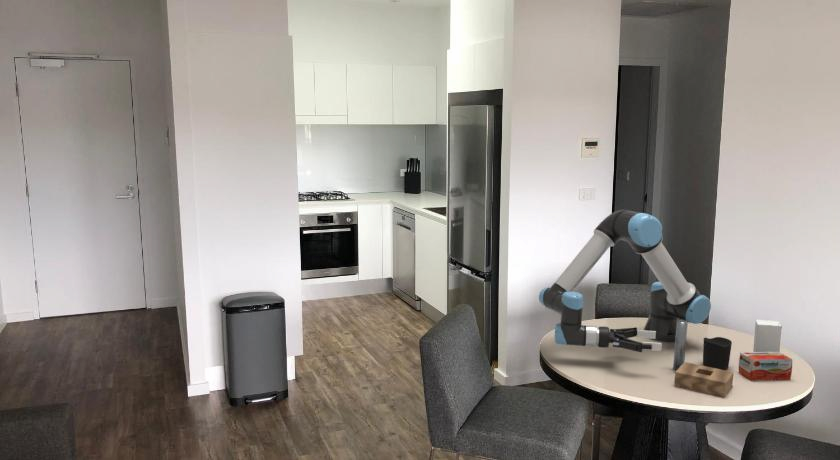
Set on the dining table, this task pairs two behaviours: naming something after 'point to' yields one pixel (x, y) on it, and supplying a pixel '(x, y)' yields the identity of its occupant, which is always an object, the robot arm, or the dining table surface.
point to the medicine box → (765, 366)
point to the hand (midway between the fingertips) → (658, 340)
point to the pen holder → (716, 352)
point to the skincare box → (767, 336)
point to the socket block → (704, 379)
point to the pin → (680, 344)
